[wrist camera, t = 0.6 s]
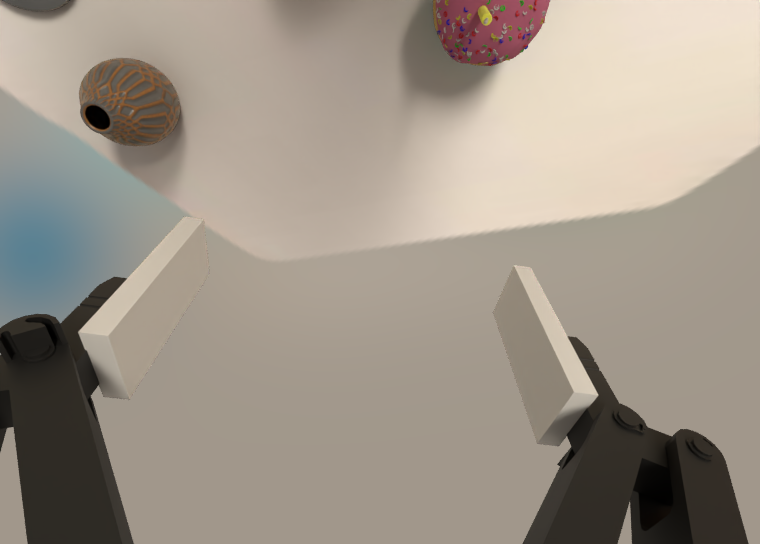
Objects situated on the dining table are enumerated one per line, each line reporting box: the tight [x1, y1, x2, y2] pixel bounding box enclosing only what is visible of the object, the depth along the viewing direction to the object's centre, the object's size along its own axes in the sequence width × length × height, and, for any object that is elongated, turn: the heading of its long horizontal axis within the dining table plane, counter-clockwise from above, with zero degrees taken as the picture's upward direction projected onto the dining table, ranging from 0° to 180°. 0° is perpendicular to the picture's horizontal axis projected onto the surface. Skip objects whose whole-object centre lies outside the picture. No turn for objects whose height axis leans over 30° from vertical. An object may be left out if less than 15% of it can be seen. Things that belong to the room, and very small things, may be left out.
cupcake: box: [433, 0, 550, 66], centre depth 28 cm, size 9×8×12 cm
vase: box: [79, 58, 180, 146], centre depth 33 cm, size 7×7×9 cm
